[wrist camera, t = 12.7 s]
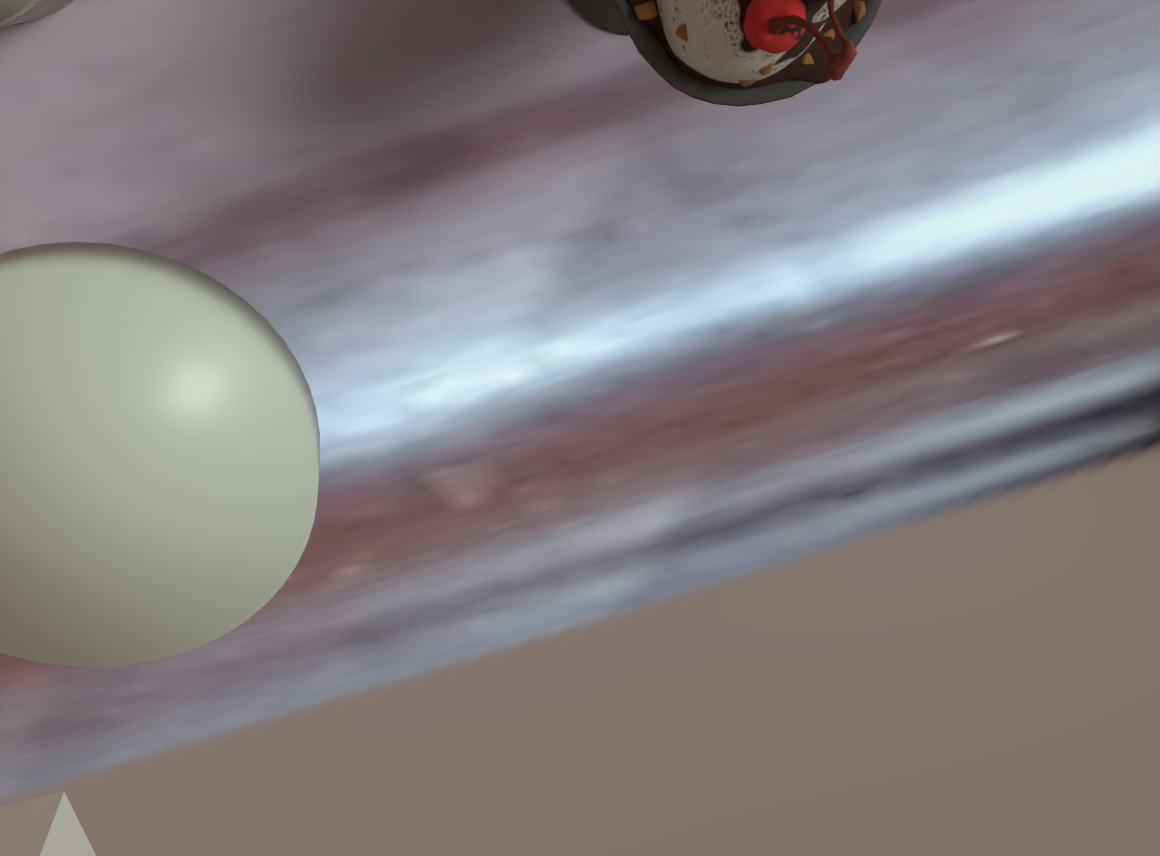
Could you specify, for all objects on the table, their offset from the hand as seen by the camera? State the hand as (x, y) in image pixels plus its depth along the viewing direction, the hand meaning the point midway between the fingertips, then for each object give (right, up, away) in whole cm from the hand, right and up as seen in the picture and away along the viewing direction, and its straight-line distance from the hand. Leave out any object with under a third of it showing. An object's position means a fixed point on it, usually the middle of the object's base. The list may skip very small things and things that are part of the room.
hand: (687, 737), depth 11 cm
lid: (-14, +3, +15) cm, 21 cm away
